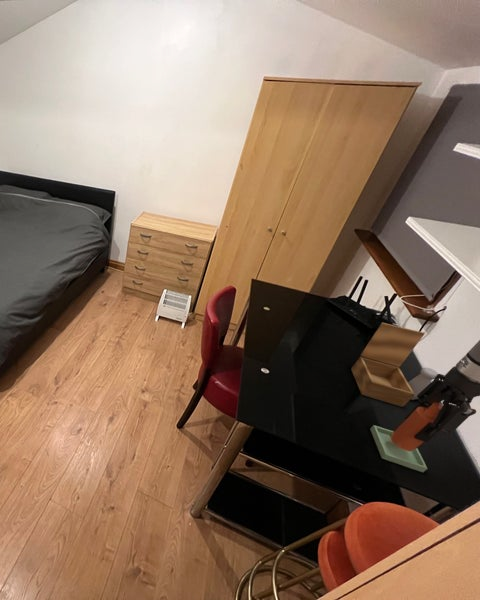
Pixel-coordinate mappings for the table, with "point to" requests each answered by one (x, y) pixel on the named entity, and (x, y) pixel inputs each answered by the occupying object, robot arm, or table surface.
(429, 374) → the salt shaker
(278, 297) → the table surface
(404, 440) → the bottle
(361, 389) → the chest
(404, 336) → the lid
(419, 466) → the tray
